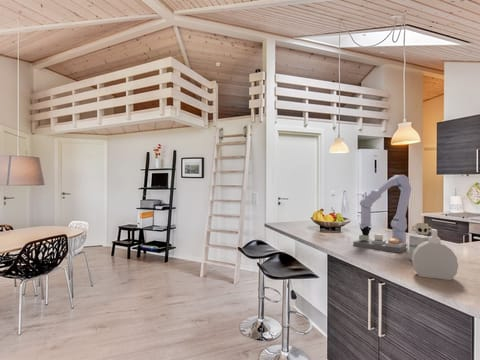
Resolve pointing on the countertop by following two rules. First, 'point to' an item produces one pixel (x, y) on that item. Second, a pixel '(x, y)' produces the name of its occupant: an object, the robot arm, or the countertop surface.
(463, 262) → the countertop surface
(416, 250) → the soap bottle
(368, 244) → the switch panel
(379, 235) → the off-white button
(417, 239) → the supplement box
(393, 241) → the brown rectangular block
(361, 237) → the pale green block
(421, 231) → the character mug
